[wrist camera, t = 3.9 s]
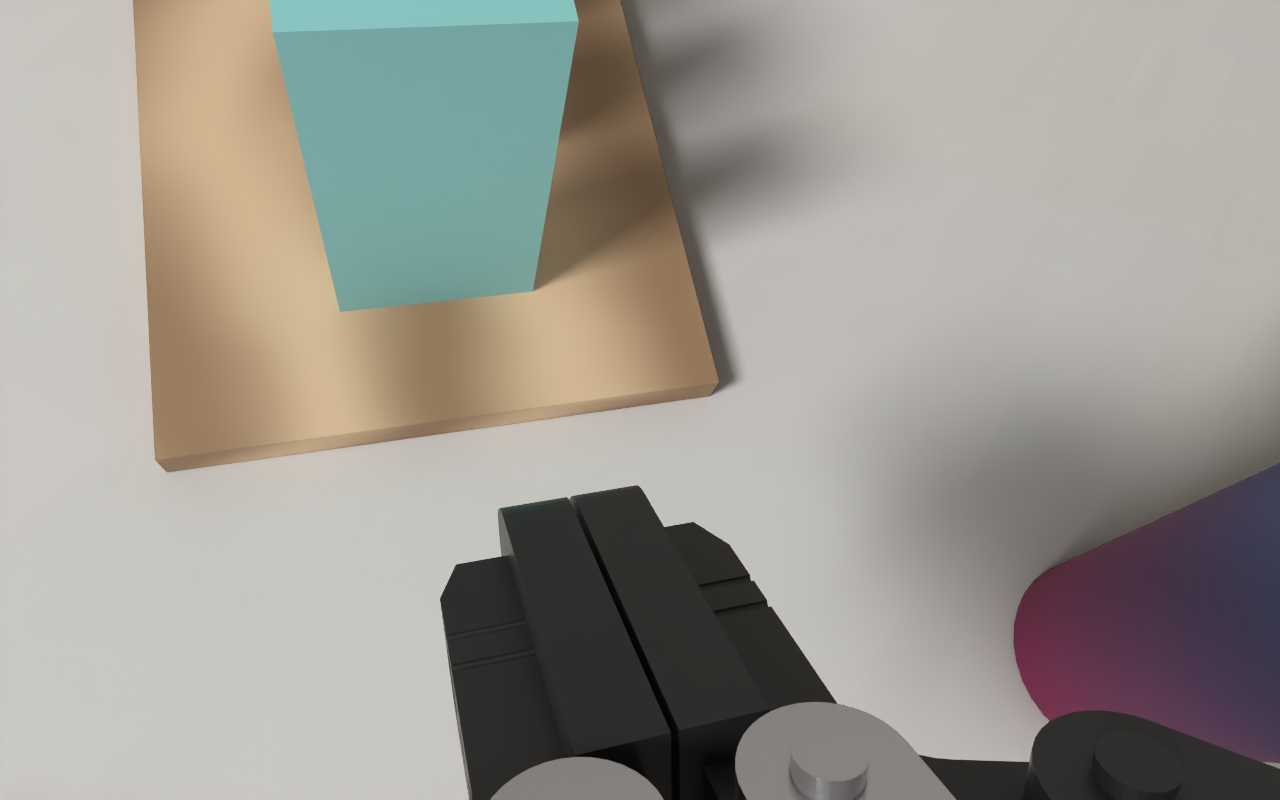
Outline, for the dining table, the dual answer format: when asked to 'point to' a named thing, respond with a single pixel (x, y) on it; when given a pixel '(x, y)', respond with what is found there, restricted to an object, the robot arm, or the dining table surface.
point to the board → (399, 335)
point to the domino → (427, 139)
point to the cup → (1169, 623)
